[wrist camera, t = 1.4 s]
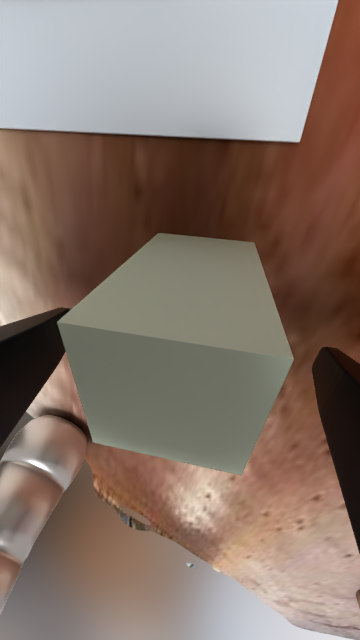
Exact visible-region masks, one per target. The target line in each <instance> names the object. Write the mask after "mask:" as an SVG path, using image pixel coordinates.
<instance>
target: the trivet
mask: <svg viewBox="0 0 360 640" xmlns="http://www.w3.org/2000/svg"><path fill="white" fill-rule="evenodd" d="M356 597H357V601H358V604H359V607H360V590H358V591H357V595H356Z"/></svg>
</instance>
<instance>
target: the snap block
mask: <svg viewBox="0 0 360 640" xmlns="http://www.w3.org/2000/svg"><path fill="white" fill-rule="evenodd" d="M57 324H58V327H59V330H60V334H61V337H62V340H63V344H64V347H65V350H66V354H67V357H68V360H69V364H70V367H71V370H72V374H73V377H74V380H75V384H76V387H77V390H78V394H79V397H80V400H81V404H82V407H83V410H84V414H85V417H86V420H87V424H88V427H89V430H90V434H91V437H92V440H93V443H98V444H102V445H107V446H111V447H116V448H120V449H125V450H129V451H134V452H138V453H143V454H147V455H152V456H156V457H161V458H165V459H170V460H174V461H179V462H183V463H188V464H192V465H197V466H201V467H206V468H210V469H215V470H219V471H224V472H228V473H233V474H237V475H242V473H243V471H244V469H245V467H246V464H247V462H248V460H249V458H250V455H251V453H252V451H253V449H254V447H255V444H256V442H257V440H258V438H259V436H260V433H261V431H262V429H263V427H264V424H265V422H266V420H267V418H268V416H269V413H270V411H271V409H272V407H273V405H274V402H275V400H276V398H277V396H278V394H279V391H280V389H281V387H282V385H283V382H284V380H285V378H286V376H287V374H288V371H289V369H290V367H291V365H292V363H293V360H294V358H293V355H292V352H291V349H290V346H289V343H288V340H287V337H286V334H285V331H284V329H283V326H282V323H281V320H280V317H279V314H278V311H277V308H276V305H275V302H274V299H273V296H272V293H271V290H270V287H269V284H268V281H267V279H266V276H265V273H264V270H263V267H262V264H261V261H260V258H259V255H258V252H257V249H256V246H255V243H254V242H245V241H235V240H225V239H215V238H205V237H195V236H185V235H176V234H166V233H158V234H157V235H155V236H154V237H153V238H152V239H151V240H150V241H149V242H147V243H146V244H145V245H144V246H143V247H142V248H141V249H139V250H138V251H137V252H136V253H135V254H134V255H133V256H131V257H130V258H129V259H128V260H127V261H126V262H125V263H124V264H122V265H121V266H120V267H119V268H118V269H117V270H116V271H114V272H113V273H112V274H111V275H110V276H109V277H108V278H106V279H105V280H104V281H103V282H102V283H101V284H100V285H99V286H97V287H96V288H95V289H94V290H93V291H92V292H91V293H89V294H88V295H87V296H86V297H85V298H84V299H83V300H81V301H80V302H79V303H78V304H77V305H76V306H75V307H73V308H72V309H71V310H70V311H69V312H68V313H67V314H66V315H64V316H63V317H62V318H61V319H60V320H59V321H58V322H57Z"/></svg>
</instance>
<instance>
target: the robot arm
mask: <svg viewBox="0 0 360 640" xmlns="http://www.w3.org/2000/svg"><path fill="white" fill-rule="evenodd" d="M70 310H71V309H69V308H62V307H61V308H57V309H54V310H51V311H47V312H44V313H41V314H38V315H35V316H32V317H29V318H25V319H22V320H19V321H16V322H13V323H10V324H6V325H3V326H0V447H1V446H2V445H3V443H4V442H5V440H6V439H7V437H8V436H9V435H10V433H11V432H12V430H13V429H14V427H15V426H16V424H17V423H18V422H19V420H20V419H21V417H22V416H23V414H24V413H25V412H26V410H27V409H28V407H29V406H30V404H31V403H32V402H33V400H34V399H35V397H36V396H37V394H38V393H39V392H40V390H41V389H42V387H43V386H44V384H45V383H46V382H47V380H48V379H49V377H50V376H51V374H52V373H53V372H54V370H55V369H56V367H57V366H58V364H59V362H60V361H61V359H62V357H63V355H64V353H65V352H66V350H65V347H64V344H63V340H62V337H61V334H60V330H59V327H58V324H57V322H58V321H59V320H60V319H61V318H62V317H63V316H64V315H66V314H67V313H68V312H69V311H70ZM312 374H313V380H314V386H315V392H316V398H317V404H318V409H319V414H320V418H321V421H322V425H323V428H324V432H325V435H326V439H327V442H328V446H329V449H330V453H331V456H332V459H333V463H334V466H335V470H336V473H337V477H338V480H339V484H340V487H341V491H342V494H343V498H344V501H345V504H346V508H347V511H348V515H349V518H350V522H351V525H352V529H353V532H354V536H355V539H356V543H357V546H358V550H359V553H360V364H359V363H357V362H356V361H355V360H353V359H352V358H350V357H349V356H347V355H346V354H345V353H343V352H342V351H340V350H339V349H337V348H331V347H323V348H322V349H321V350H320V352H319V354H318V355H317V357H316V359H315V361H314V363H313V366H312Z"/></svg>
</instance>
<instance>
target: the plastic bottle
mask: <svg viewBox="0 0 360 640" xmlns="http://www.w3.org/2000/svg"><path fill="white" fill-rule="evenodd" d="M86 451H87V438H86V436H85V434H84V433H83V431H82V430H81V429H80V428H79V427H77V426H76V425H75V424H73V423H71V422H70V421H68V420H66V419H63V418H61V417H58V416H53V415H43V416H40V417H37V418H35V419H33V420H31V421H30V422H29V423H28V424H26V426H24V427H23V428H22V430H20V431H19V432H18V433H17V434H16V436H15V437H14V439H13V440H12V442H11V443H10V445H9V447H8V448H7V450H6V452H5V454H4V455H3V457H2V459H1V461H0V462H1V464H0V614H1V612H2V610H3V607H4V605H5V603H6V600H7V598H8V596H9V594H10V592H11V590H12V588H13V586H14V584H15V582H16V579H17V577H18V575H19V573H20V571H21V566H22V564H23V562H24V560H25V559H26V558H27V556H28V554H29V552H30V550H31V548H32V546H33V544H34V542H35V540H36V538H37V536H38V535H39V533H40V531H41V530H42V528H43V526H44V525H45V523H46V521H47V519H48V518H49V516H50V514H51V513H52V510H53V509H54V508H55V506H56V504H57V502H58V501H59V499H60V497H61V496H62V493H63V492H64V491H65V490H66V489H67V488H68V486H69V485H70V483H71V482H72V480H73V479H74V477H75V476H76V474H77V473H78V471H79V469H80V468H81V466H82V463H83V460H84V457H85V454H86Z"/></svg>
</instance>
